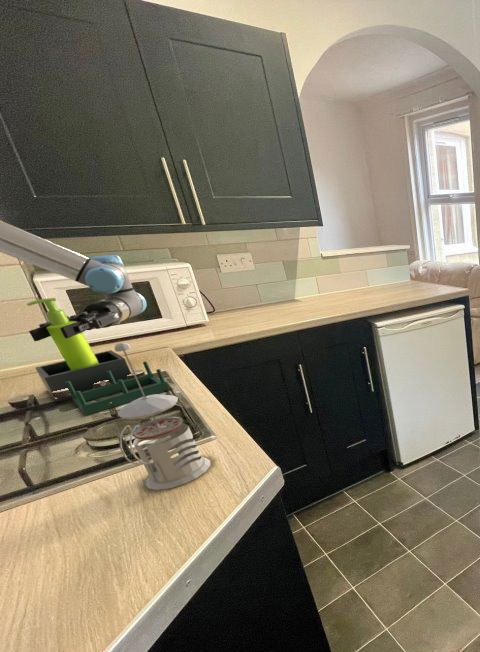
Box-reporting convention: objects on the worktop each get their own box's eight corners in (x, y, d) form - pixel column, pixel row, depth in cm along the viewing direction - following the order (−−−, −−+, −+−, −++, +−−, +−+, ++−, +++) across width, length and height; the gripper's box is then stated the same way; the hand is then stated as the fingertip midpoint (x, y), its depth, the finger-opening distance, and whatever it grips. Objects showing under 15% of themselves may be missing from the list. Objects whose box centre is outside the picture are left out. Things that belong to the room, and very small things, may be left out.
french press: (222, 456, 81) (173, 332, 70) (177, 496, 70) (112, 356, 60) (173, 458, 81) (117, 334, 71) (121, 497, 71) (46, 358, 60)
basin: (57, 402, 108) (44, 377, 105) (47, 390, 116) (34, 367, 113) (134, 381, 120) (124, 358, 117) (121, 371, 127) (111, 350, 125)
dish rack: (86, 415, 100) (74, 393, 98) (74, 403, 107) (63, 382, 105) (170, 389, 113) (161, 369, 110) (155, 380, 119) (146, 360, 117)
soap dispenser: (67, 372, 116) (26, 300, 107) (100, 364, 120) (63, 295, 111) (67, 377, 112) (24, 303, 103) (101, 368, 116) (62, 297, 108)
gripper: (146, 321, 130) (98, 344, 110) (75, 328, 127) (12, 353, 106) (136, 297, 127) (85, 316, 107) (63, 303, 124) (-5, 324, 103)
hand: (49, 334), depth 106 cm, fingers closed on soap dispenser, 6 cm apart
